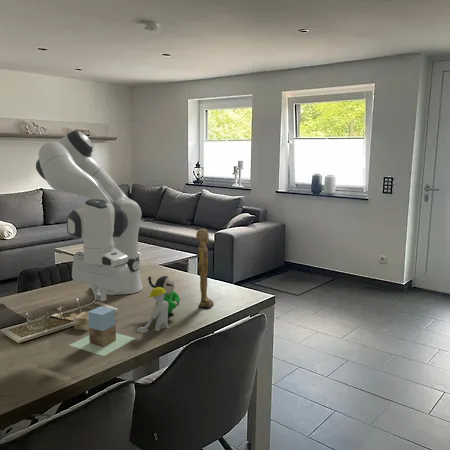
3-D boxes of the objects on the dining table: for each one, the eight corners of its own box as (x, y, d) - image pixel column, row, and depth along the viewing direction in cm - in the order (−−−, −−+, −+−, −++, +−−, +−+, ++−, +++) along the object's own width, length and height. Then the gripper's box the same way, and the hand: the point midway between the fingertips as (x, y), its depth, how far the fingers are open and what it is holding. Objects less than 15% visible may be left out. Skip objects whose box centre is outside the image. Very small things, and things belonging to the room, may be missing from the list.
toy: (172, 323, 157) (171, 281, 154) (142, 319, 160) (141, 278, 158) (182, 313, 166) (182, 274, 163) (154, 310, 169) (154, 271, 167)
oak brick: (74, 332, 149) (73, 317, 148) (83, 325, 154) (82, 311, 154) (89, 333, 148) (88, 319, 147) (98, 327, 153) (97, 313, 152)
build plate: (68, 348, 137) (68, 345, 137) (102, 332, 149) (102, 329, 149) (103, 359, 131) (103, 355, 130) (135, 341, 143) (135, 338, 142)
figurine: (148, 323, 157) (147, 281, 154) (172, 327, 154) (172, 284, 151) (133, 335, 147) (132, 290, 144) (159, 339, 144) (158, 293, 142)
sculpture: (210, 309, 171) (211, 230, 165) (194, 308, 172) (194, 229, 167) (214, 303, 177) (215, 227, 172) (198, 302, 178) (199, 226, 173)
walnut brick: (89, 343, 139) (89, 327, 138) (102, 336, 143) (102, 321, 142) (103, 347, 136) (102, 331, 135) (115, 340, 141) (115, 324, 140)
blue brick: (88, 327, 138) (88, 311, 137) (101, 321, 142) (101, 306, 142) (102, 331, 135) (102, 315, 134) (115, 324, 140) (114, 309, 139)
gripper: (65, 252, 137) (67, 296, 140) (117, 261, 127) (119, 309, 130) (81, 248, 143) (83, 291, 145) (132, 257, 133) (133, 302, 135)
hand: (100, 299), depth 137 cm, fingers closed
